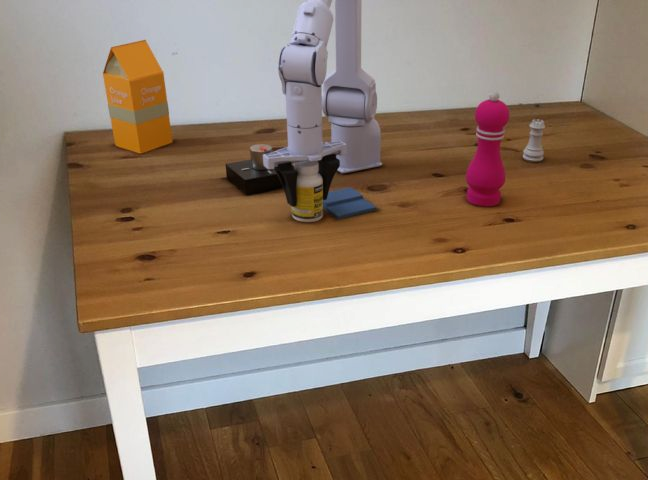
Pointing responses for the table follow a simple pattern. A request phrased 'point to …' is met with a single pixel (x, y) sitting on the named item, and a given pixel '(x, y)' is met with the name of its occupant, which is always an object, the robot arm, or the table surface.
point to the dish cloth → (346, 203)
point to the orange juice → (137, 98)
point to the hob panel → (252, 178)
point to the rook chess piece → (534, 143)
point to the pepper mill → (488, 153)
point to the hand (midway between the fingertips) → (307, 201)
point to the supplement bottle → (308, 192)
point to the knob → (259, 155)
